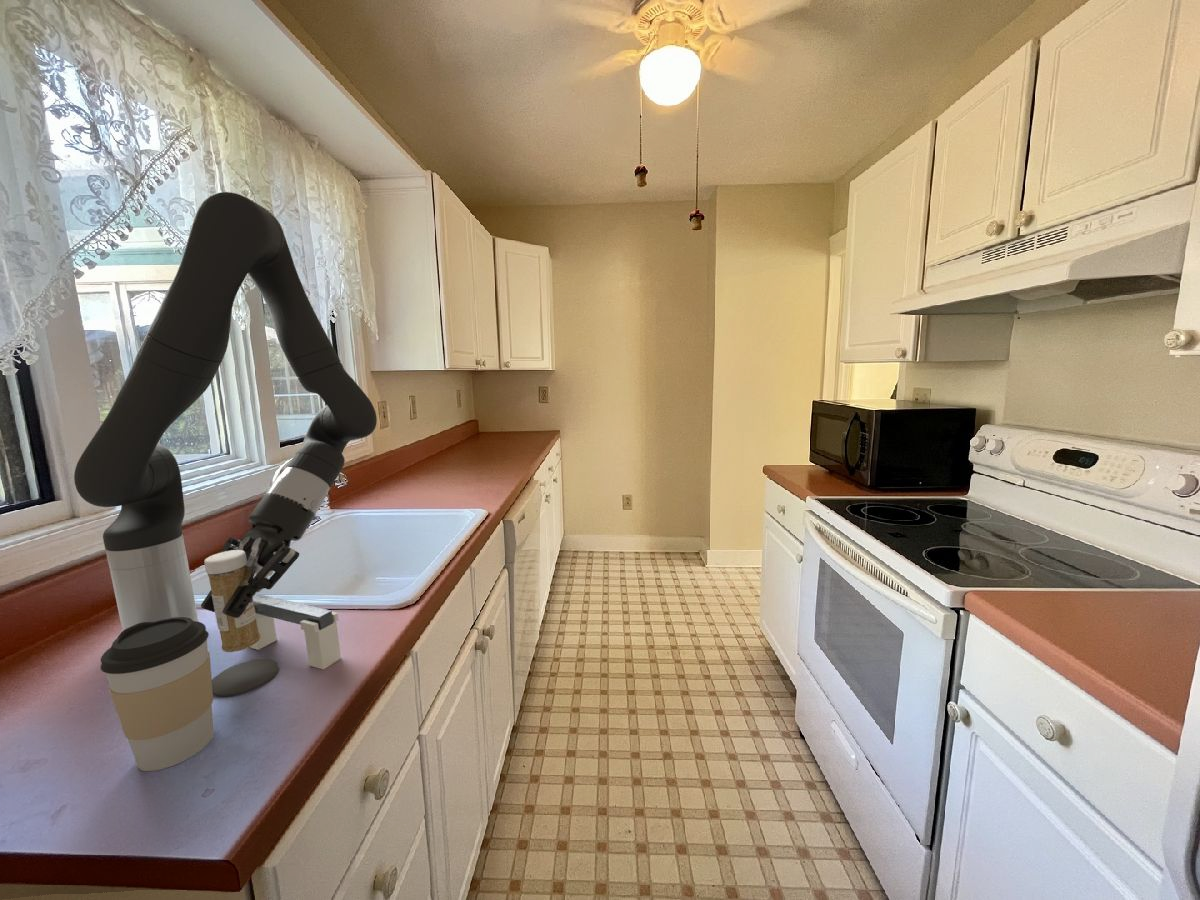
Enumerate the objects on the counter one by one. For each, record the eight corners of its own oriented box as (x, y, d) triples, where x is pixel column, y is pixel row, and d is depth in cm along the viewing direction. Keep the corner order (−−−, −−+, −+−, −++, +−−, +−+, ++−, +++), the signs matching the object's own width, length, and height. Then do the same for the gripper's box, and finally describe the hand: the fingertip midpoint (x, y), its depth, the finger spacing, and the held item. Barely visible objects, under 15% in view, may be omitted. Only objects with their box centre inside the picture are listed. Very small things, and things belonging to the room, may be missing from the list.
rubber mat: (196, 689, 67) (195, 685, 67) (256, 657, 74) (255, 654, 74) (231, 702, 64) (231, 698, 64) (290, 668, 71) (290, 664, 71)
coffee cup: (244, 724, 60) (224, 612, 57) (164, 785, 51) (137, 655, 49) (187, 715, 62) (166, 606, 59) (101, 772, 53) (72, 647, 51)
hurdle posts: (243, 647, 77) (236, 605, 76) (267, 635, 81) (261, 595, 80) (320, 671, 70) (314, 625, 69) (343, 656, 74) (337, 612, 73)
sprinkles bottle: (260, 645, 68) (244, 555, 66) (219, 657, 66) (201, 564, 63) (261, 632, 72) (246, 546, 70) (223, 642, 69) (205, 554, 67)
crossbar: (243, 610, 77) (241, 598, 77) (256, 604, 79) (254, 593, 79) (320, 629, 70) (319, 617, 70) (333, 623, 72) (331, 610, 72)
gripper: (241, 488, 75) (162, 596, 66) (303, 493, 69) (225, 612, 60) (281, 511, 80) (213, 613, 72) (341, 518, 75) (275, 630, 66)
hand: (219, 612), depth 66 cm, fingers closed on sprinkles bottle, 4 cm apart
